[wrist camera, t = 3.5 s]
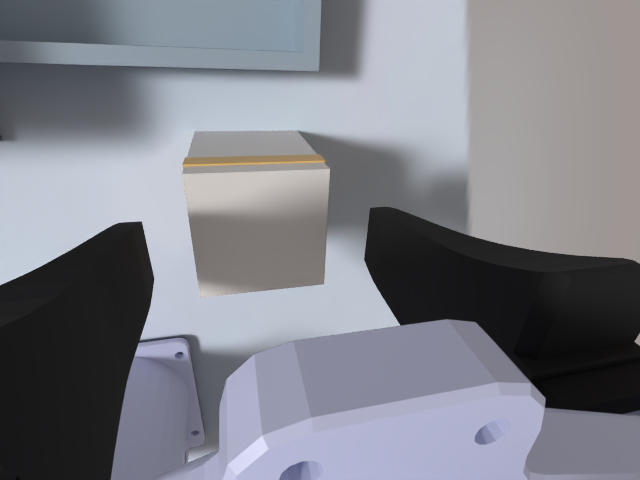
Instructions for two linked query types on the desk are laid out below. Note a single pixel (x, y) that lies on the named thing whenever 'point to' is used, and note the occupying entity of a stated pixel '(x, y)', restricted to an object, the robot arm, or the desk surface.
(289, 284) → the part block
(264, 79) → the desk surface
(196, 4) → the tray
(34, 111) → the desk surface
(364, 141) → the desk surface
